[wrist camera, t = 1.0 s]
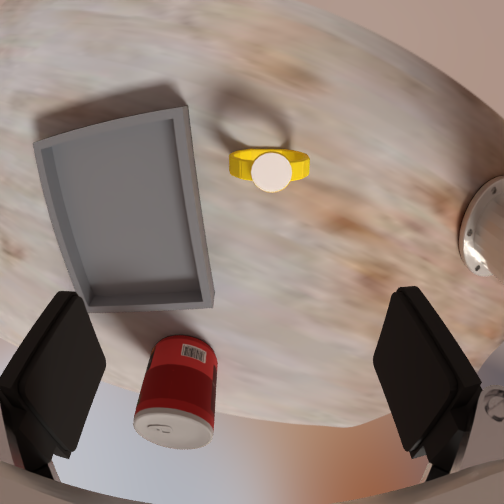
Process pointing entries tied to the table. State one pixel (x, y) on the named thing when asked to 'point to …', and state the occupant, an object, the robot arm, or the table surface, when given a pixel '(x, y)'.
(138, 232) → the tray
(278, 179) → the watch
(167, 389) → the canned food
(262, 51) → the table surface
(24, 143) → the table surface
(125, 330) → the table surface
